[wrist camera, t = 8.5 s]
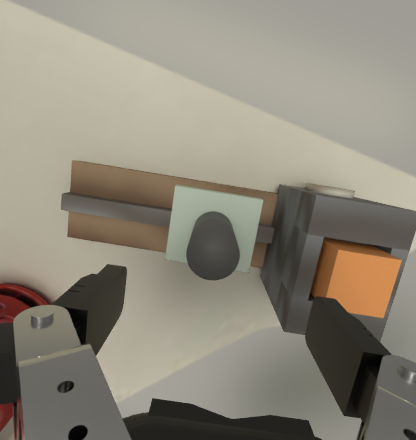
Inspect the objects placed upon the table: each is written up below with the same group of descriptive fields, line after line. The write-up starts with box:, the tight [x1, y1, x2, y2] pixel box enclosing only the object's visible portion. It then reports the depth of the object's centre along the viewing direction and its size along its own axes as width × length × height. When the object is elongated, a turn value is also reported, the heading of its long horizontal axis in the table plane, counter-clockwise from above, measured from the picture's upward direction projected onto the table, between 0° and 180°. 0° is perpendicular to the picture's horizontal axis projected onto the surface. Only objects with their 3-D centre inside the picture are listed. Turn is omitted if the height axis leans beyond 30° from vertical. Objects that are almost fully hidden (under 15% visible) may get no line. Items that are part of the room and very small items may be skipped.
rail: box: [61, 161, 416, 342], centre depth 24 cm, size 11×28×12 cm, turn 81°
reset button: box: [310, 238, 402, 318], centre depth 19 cm, size 4×4×3 cm
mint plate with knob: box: [165, 185, 263, 280], centre depth 23 cm, size 7×8×10 cm
